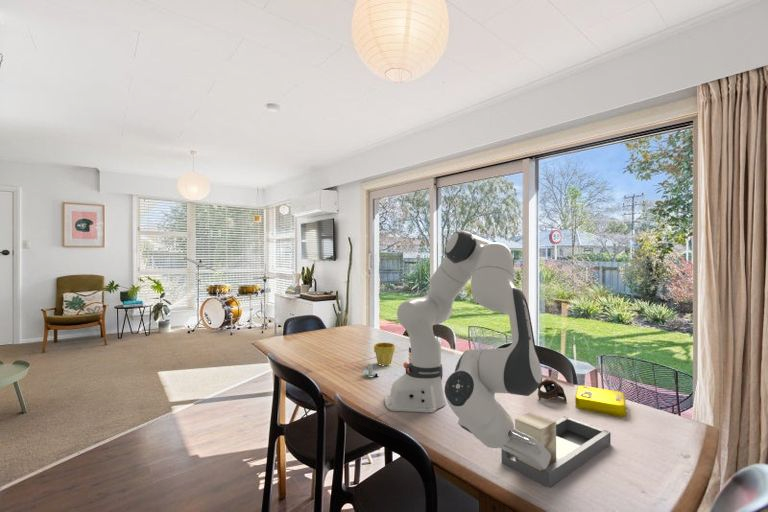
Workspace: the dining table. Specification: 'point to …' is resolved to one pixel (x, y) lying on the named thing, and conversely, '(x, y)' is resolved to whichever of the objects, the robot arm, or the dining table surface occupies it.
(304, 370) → the dining table surface
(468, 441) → the dining table surface
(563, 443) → the grey rimmed tray
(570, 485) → the dining table surface
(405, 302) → the robot arm
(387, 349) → the plant pot
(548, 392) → the pottery mug
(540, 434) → the block
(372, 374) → the pacifier
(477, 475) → the dining table surface
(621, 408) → the element tile
